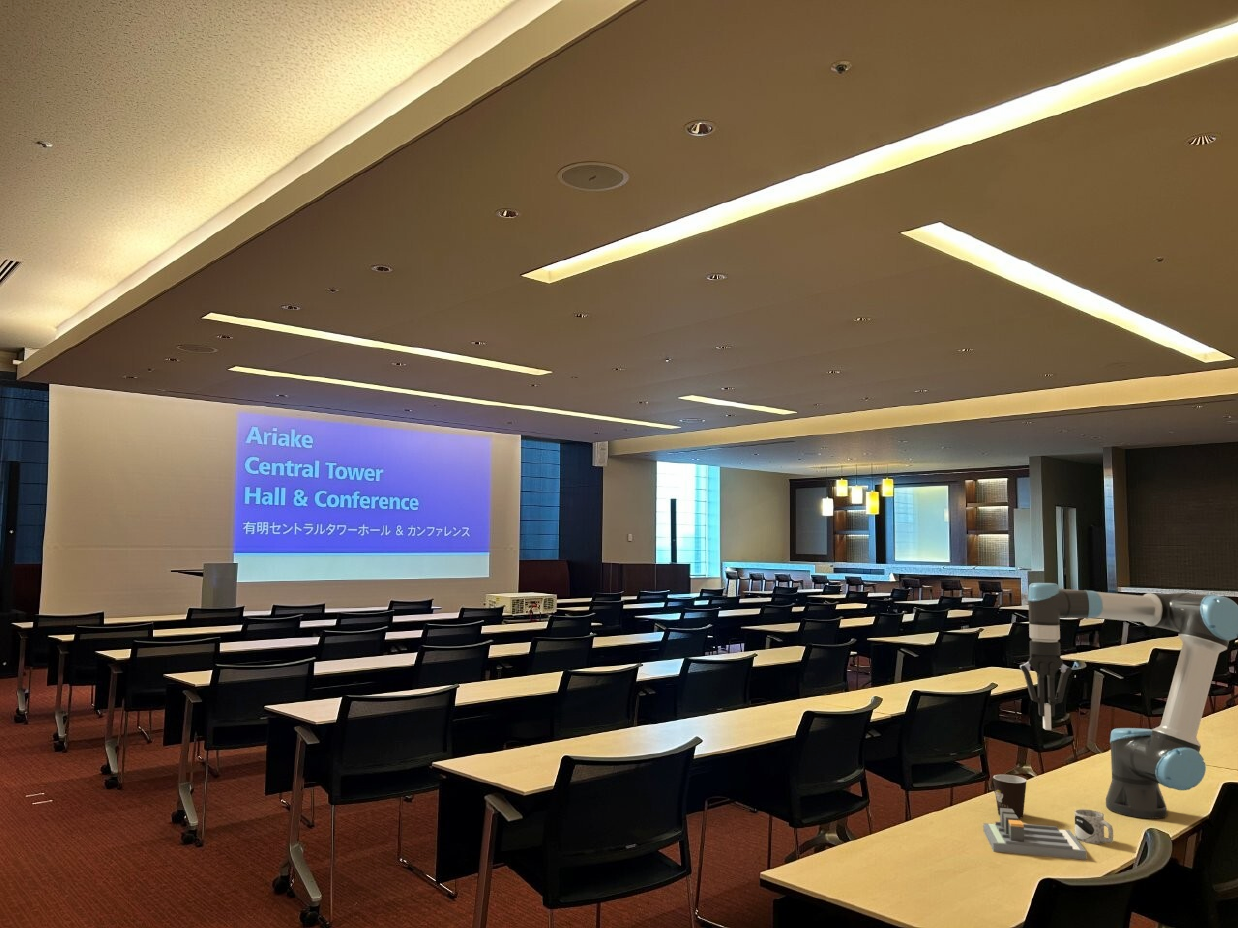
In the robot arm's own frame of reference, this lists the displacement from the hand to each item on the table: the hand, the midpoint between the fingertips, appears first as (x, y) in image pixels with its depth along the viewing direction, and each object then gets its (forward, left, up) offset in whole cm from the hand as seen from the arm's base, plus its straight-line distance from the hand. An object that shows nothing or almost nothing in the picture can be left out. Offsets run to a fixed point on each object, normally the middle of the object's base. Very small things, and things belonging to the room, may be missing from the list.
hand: (1047, 728), depth 239 cm
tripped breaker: (+12, +19, -24) cm, 33 cm away
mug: (-9, +7, -27) cm, 29 cm away
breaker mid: (+12, +14, -24) cm, 31 cm away
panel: (+7, +14, -26) cm, 31 cm away
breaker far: (+12, +9, -24) cm, 29 cm away
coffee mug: (+8, -12, -27) cm, 30 cm away
